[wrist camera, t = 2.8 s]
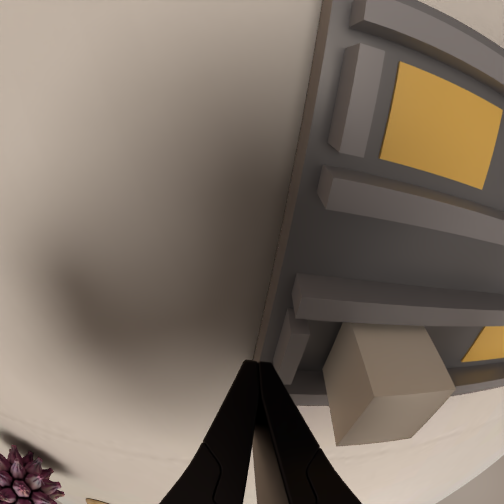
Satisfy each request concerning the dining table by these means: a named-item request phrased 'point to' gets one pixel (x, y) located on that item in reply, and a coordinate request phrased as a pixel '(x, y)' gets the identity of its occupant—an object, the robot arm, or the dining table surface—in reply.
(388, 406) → the tab
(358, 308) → the switch bank
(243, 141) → the dining table surface
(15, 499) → the flower
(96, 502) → the hand bell
